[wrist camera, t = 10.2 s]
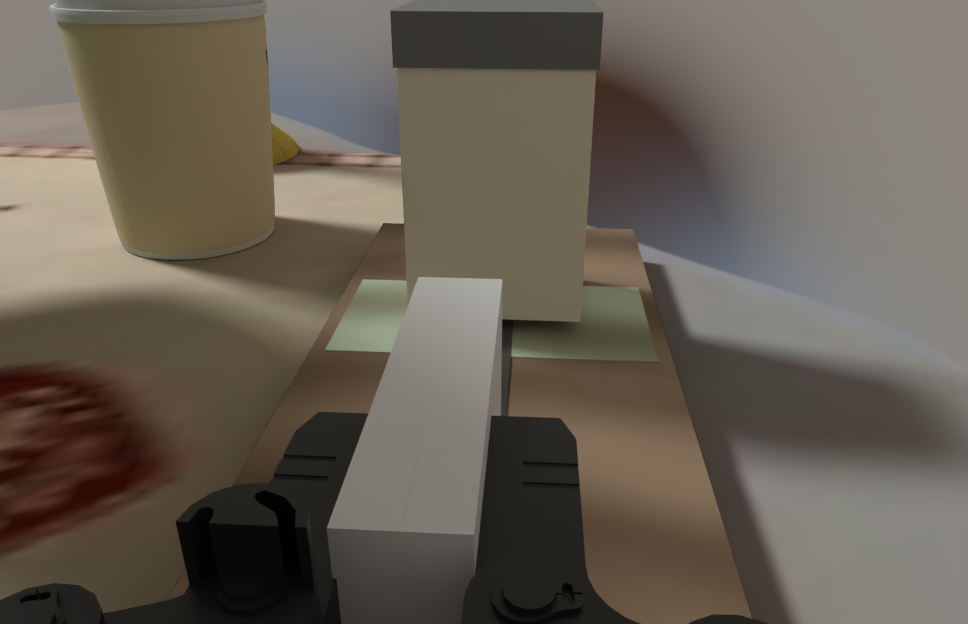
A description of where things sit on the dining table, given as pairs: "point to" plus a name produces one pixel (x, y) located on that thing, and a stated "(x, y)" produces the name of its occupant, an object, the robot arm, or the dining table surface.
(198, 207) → the coffee cup
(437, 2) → the fader knob
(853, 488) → the dining table surface
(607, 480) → the fader track
